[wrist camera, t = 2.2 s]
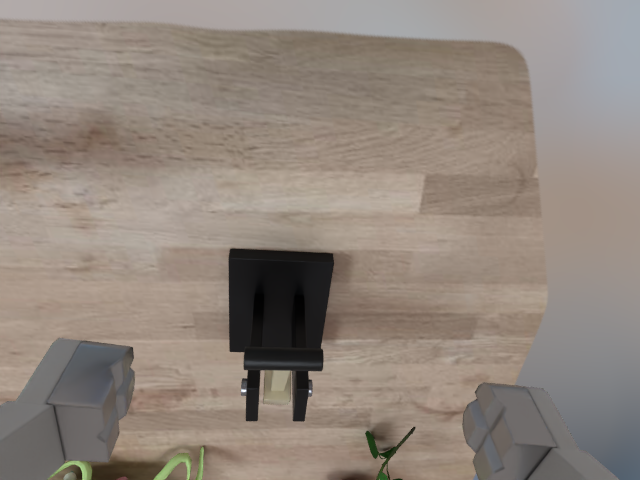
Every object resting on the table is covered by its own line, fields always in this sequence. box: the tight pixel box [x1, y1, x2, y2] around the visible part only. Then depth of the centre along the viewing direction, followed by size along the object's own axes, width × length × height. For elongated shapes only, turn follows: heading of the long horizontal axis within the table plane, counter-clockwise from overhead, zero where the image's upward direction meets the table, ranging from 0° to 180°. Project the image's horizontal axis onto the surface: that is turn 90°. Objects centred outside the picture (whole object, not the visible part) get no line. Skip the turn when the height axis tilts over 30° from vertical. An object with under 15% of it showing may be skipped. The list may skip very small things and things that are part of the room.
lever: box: [244, 347, 323, 405], centre depth 34 cm, size 13×5×2 cm, turn 174°
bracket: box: [229, 249, 334, 421], centre depth 43 cm, size 13×10×13 cm
